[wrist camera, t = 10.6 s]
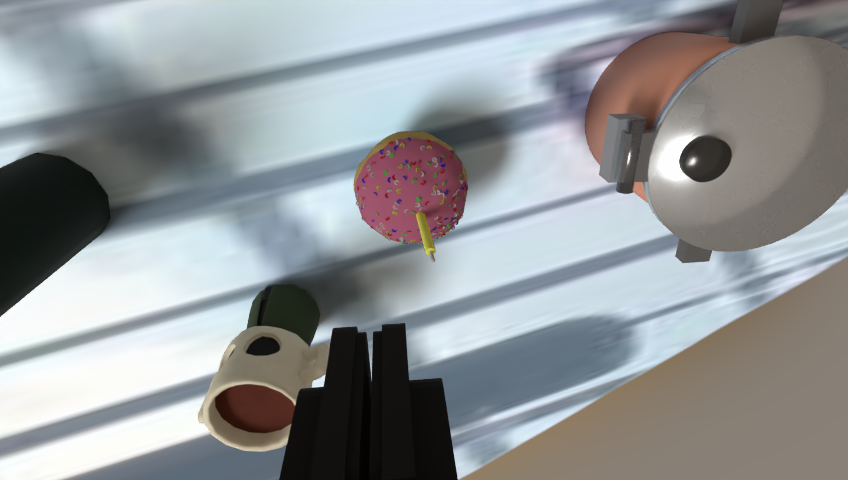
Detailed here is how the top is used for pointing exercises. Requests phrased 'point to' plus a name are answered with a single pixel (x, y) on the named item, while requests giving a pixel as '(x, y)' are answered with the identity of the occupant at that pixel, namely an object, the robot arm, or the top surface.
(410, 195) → the cupcake
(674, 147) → the lid
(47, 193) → the wine bottle
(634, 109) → the pot
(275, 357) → the character mug
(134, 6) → the top surface
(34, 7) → the top surface
